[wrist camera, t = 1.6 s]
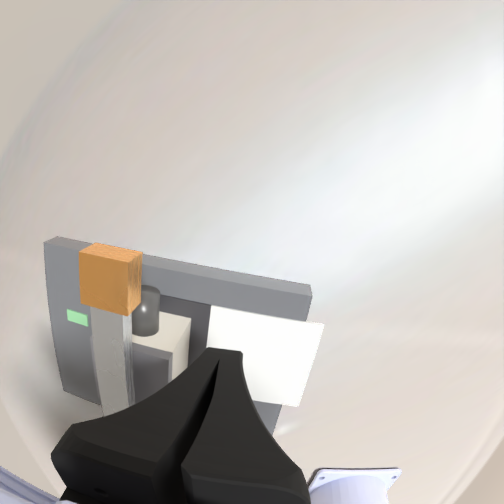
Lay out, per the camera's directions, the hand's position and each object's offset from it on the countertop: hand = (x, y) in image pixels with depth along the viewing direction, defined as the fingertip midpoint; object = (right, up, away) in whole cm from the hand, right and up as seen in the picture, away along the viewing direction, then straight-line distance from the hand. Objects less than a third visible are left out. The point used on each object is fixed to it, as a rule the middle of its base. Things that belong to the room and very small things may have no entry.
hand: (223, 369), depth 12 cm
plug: (-4, -1, +6) cm, 7 cm away
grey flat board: (-5, -2, +8) cm, 9 cm away
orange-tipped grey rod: (-5, -1, +5) cm, 7 cm away
